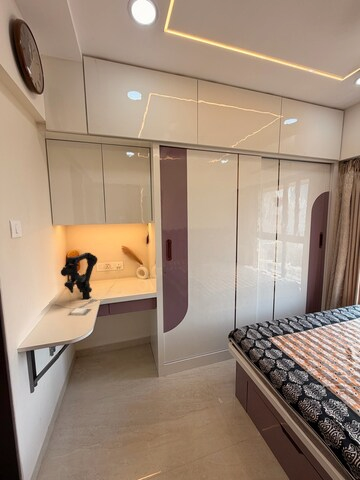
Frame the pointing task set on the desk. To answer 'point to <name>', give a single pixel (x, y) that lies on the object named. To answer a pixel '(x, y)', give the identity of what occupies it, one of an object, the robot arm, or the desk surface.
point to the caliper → (87, 303)
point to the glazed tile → (79, 311)
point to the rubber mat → (84, 313)
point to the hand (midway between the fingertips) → (75, 290)
